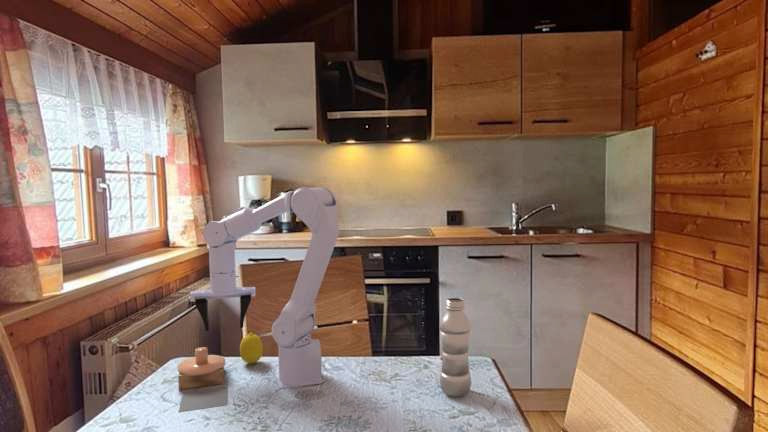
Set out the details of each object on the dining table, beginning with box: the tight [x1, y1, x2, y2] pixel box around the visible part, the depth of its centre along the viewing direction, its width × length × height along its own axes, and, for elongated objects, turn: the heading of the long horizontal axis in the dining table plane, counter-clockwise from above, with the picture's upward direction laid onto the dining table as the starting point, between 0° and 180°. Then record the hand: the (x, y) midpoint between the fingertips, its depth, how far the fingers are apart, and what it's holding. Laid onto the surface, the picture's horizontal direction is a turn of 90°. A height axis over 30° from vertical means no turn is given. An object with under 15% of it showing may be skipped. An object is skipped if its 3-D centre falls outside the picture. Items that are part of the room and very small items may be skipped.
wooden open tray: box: [177, 355, 225, 391], centre depth 104 cm, size 9×9×4 cm
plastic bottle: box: [439, 297, 472, 398], centre depth 96 cm, size 6×7×20 cm
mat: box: [178, 385, 229, 413], centre depth 95 cm, size 9×9×1 cm
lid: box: [177, 346, 226, 376], centre depth 104 cm, size 10×10×4 cm
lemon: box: [239, 332, 264, 365], centre depth 113 cm, size 6×6×8 cm
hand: (224, 328), depth 109 cm, fingers open, 7 cm apart
